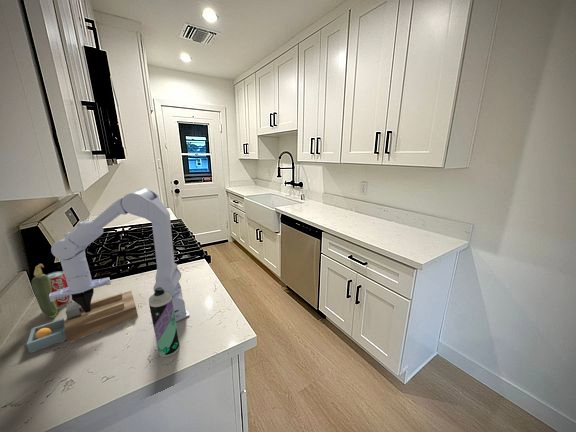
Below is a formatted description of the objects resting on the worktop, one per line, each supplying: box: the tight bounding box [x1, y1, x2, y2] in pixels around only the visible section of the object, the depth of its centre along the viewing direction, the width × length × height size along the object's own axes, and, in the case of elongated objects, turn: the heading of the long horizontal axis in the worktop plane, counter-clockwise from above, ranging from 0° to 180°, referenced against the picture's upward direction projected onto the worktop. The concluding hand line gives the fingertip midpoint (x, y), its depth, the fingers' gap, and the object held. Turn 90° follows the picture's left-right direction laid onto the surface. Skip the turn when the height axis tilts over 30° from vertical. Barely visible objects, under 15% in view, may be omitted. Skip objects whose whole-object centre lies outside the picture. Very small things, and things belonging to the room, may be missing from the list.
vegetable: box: [30, 263, 58, 319], centre depth 78 cm, size 4×4×20 cm
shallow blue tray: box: [26, 317, 67, 354], centre depth 72 cm, size 8×8×3 cm
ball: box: [35, 328, 51, 339], centre depth 71 cm, size 3×3×3 cm
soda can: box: [46, 270, 73, 308], centre depth 87 cm, size 6×6×12 cm
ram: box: [65, 301, 82, 320], centre depth 74 cm, size 5×3×4 cm, turn 39°
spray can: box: [148, 287, 181, 358], centre depth 65 cm, size 6×6×20 cm
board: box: [64, 290, 139, 343], centre depth 79 cm, size 12×18×6 cm, turn 129°
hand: (88, 310), depth 77 cm, fingers closed
